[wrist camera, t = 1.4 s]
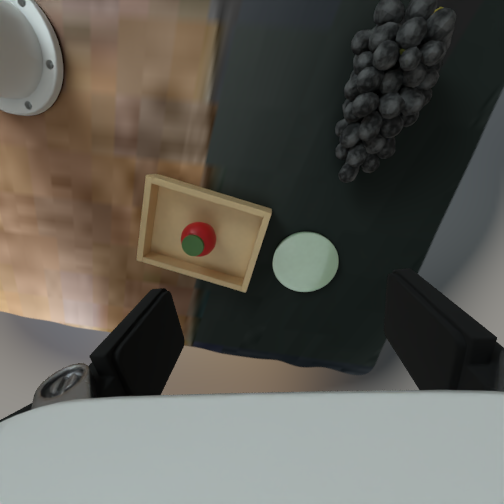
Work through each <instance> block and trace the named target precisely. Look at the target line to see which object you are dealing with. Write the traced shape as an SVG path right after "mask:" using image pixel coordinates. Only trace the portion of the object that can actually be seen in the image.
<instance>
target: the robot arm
mask: <svg viewBox="0 0 504 504" xmlns="http://www.w3.org/2000/svg"><path fill="white" fill-rule="evenodd" d="M62 81H63V60H62V53H61V49H60V46H59V42H58V39H57V37H56V34H55V32H54V30H53V27H52V25H51V24H50V22H49V20H48V19H47V17H46V15H45V14H44V12H43V11H42V10H41V8H40V7H39V6H38V5H37V3H36V2H35V1H34V0H0V110H2V111H4V112H7V113H11V114H16V115H23V116H32V115H37V114H40V113H42V112H45V111H46V110H47V109H48V108H50V107H51V106H52V105H53V103H54V102H55V101H56V99H57V97H58V95H59V93H60V90H61V86H62ZM384 332H385V336H386V338H387V339H388V341H389V342H390V344H391V345H392V347H393V349H394V350H395V352H396V353H397V355H398V356H399V358H400V360H401V361H402V363H403V364H404V366H405V368H406V369H407V371H408V372H409V374H410V376H411V377H412V379H413V380H414V382H415V383H416V385H417V387H418V388H419V390H392V391H391V390H387V391H329V392H328V391H327V392H326V391H323V392H275V393H273V392H271V393H225V394H189V395H161V393H162V391H163V389H164V387H165V385H166V382H167V380H168V378H169V376H170V374H171V372H172V370H173V368H174V366H175V364H176V361H177V359H178V357H179V355H180V353H181V351H182V349H183V346H184V336H183V333H182V329H181V326H180V322H179V319H178V316H177V312H176V309H175V305H174V302H173V299H172V295H171V293H170V292H169V291H167V290H166V289H165V288H163V289H152V290H151V291H150V292H149V293H148V294H147V295H146V296H145V297H144V298H143V299H142V300H141V301H140V302H139V303H138V304H137V305H136V307H135V308H134V309H133V310H132V311H131V312H130V313H129V314H128V315H127V316H126V317H125V318H124V319H123V320H122V322H121V323H120V324H119V325H118V326H117V327H116V328H115V329H114V330H113V331H112V332H111V333H110V334H109V336H108V337H107V338H106V339H105V340H104V341H103V342H102V343H101V344H100V345H99V346H98V347H97V348H96V349H95V350H94V352H93V353H92V354H91V355H90V358H91V360H92V363H91V364H90V365H89V366H87V365H86V364H82V363H78V364H73V365H70V366H68V367H65V368H63V369H61V370H59V371H57V372H55V373H54V374H52V375H51V376H50V377H48V378H47V379H46V380H45V381H44V382H43V383H42V384H41V385H40V386H39V387H38V388H37V390H36V392H35V395H34V399H33V403H31V404H30V405H28V406H26V407H24V408H22V409H20V410H18V411H17V412H15V413H13V414H11V415H9V416H7V417H5V418H3V419H1V420H0V504H504V348H503V347H502V346H501V345H500V344H499V343H497V342H496V340H497V337H496V336H495V335H493V334H492V333H491V332H489V331H488V330H487V329H486V328H485V327H483V326H482V325H481V324H479V323H478V322H477V321H476V320H474V319H473V318H472V317H471V316H469V315H468V314H467V313H466V312H464V311H463V310H462V309H461V308H459V307H458V306H457V305H456V304H454V303H453V302H452V301H450V300H449V299H448V298H447V297H446V296H444V295H443V294H442V293H441V292H439V291H438V290H437V289H436V288H434V287H433V286H432V285H431V284H429V283H428V282H427V281H425V280H424V279H423V278H422V277H420V276H419V275H418V274H417V273H416V272H414V271H413V270H412V269H410V268H409V269H397V270H393V272H392V273H391V274H388V278H387V292H386V305H385V319H384Z"/></svg>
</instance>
